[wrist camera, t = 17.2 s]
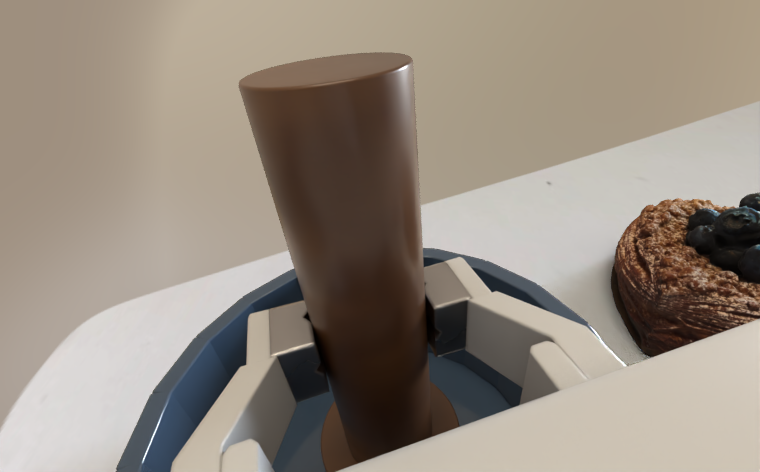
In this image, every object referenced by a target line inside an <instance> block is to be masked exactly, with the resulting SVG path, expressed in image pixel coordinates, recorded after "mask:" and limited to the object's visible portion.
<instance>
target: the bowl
mask: <svg viewBox="0 0 760 472" xmlns="http://www.w3.org/2000/svg"><path fill="white" fill-rule="evenodd" d="M457 257H461V258H463V259H464V260H465V261H466V262H467V263H468V265H469V266H470V267H471V268H472V269H473V271H474V272H475V273H476V274H477V275H478V277H479V278H480V279H481V280H482V281H483V283H484V284H485V285H486V286H487V287H488V288H489V290H490V291H491V292H495V291H498V292H500V293H503V294H505V295H508V296H510V297H513V298H516V299H518V300H521V301H523V302H526V303H528V304H531V305H533V306H536V307H538V308H541V309H543V310H546V311H549V312H551V313H554V314H556V315H559V316H561V317H564V318H566V319H569V320H571V321H574V322H576V323H579V324H581V325H584V326H587V327H588V328H589V329H590V330H591V331H592V332H593V333H594V334H595V335H596V336H597V337H598V338H599V339H600V340H601V341H602V339H601V338H600V337H599V336H598V334H597V333H596V332H595V330H594V329H593V328H592V327H591V326H590V325H588V322H586V321H585V320H584V319H582V318H581V317H580V316H579V315H577V314H576V313H575V312H573V311H572V310H571V309H569V308H568V307H567V306H566V305H564V304H563V303H562V302H560V301H559V300H558V299H556V298H555V297H554V296H553V295H551V294H550V293H549V292H547V291H546V290H545V289H543V288H542V287H541V286H540V285H537V284H536V283H534V282H532V281H530V280H528V279H526V278H524V277H522V276H519V275H517V274H515V273H513V272H511V271H509V270H506V269H504V268H502V267H500V266H498V265H496V264H493V263H491V262H489V261H485V260H483V259H479V258H474V257H470V256H466V255H461V254H457V253H453V252H448V251H444V250H440V249H434V248H423V263H424V267H427V266H431V265H434V264H438V263H441V262H444V261H447V260H451V259H454V258H457ZM302 300H304V298H303V295H302V291H301V288H300V285H299V282H298V278H297V275H296V272H295V269H292V270H290V271H288V272H286V273H284V274H282V275H280V276H279V277H277V278H275V279H273V280H272V281H270V282H268V283H266V284H264V285H263V286H261V287H259V288H257V289H255V290H254V291H252V292H250V293H248V294H247V295H245V296H243V298H241V299H240V300H238V301H237V302H236V303H235V304H234V305H232V306H231V307H230V308H229V309H228V310H227V311H225V312H224V313H223V314H222V315H221V316H219V317H218V318H217V319H216V320H215V321H214V322H212V323H211V324H210V325H209V326H208V327H206V328H205V329H204V330H203V331H202V332H201V333H199V334H198V335H197V336H196V338H194V339H193V341H192V342H191V343H190V344H189V346H188V347H187V348H186V349H185V351H184V352H183V353H182V355H181V356H180V357H179V358H178V360H177V361H176V362H175V364H174V365H173V366H172V367H171V369H170V370H169V371H168V372H167V374H166V375H165V376H164V378H163V379H162V380H161V381H160V383H159V384H158V385H157V386H156V388H155V389H154V390H153V393H152V394H151V395H150V397H149V399H148V401H147V403H146V405H145V408H144V410H143V412H142V414H141V416H140V418H139V420H138V423H137V425H136V427H135V429H134V431H133V433H132V435H131V438H130V440H129V442H128V444H127V446H126V448H125V450H124V453H123V455H122V457H121V459H120V461H119V463H118V465H117V468H116V470H117V471H116V472H171V467H172V462H173V461H174V459H175V458H176V457H177V455H178V454H179V452H180V451H181V449H182V448H183V447H184V445H185V444H186V442H187V441H188V440H189V438H190V437H191V435H192V434H193V433H194V431H195V430H196V428H197V427H198V426H199V424H200V423H201V421H202V420H203V419H204V417H205V416H206V414H207V413H208V411H209V410H210V409H211V407H212V406H213V404H214V403H215V402H216V400H217V399H218V397H219V396H220V395H221V393H222V392H223V390H224V389H225V388H226V386H227V385H228V383H229V382H230V380H231V379H232V378H233V376H234V375H235V373H236V372H237V371H238V369H239V368H240V367H242V366H245V365H246V359H247V331H248V317H249V315H250V314H252V313H256V312H260V311H264V310H268V309H270V308H274V307H278V306H282V305H286V304H290V303H294V302H298V301H302ZM602 342H603V341H602ZM603 343H604V342H603ZM604 344H605V343H604ZM605 345H606V344H605ZM428 358H429V377H430V382H432V383H433V384H435V385H436V386H437V387H438V388H439V389H440V390H441V391H442V392H443V393H444V394H445V395H446V397H447V398H448V400H449V401H450V402H451V404H452V406H453V408H454V410H455V412H456V415H457V418H458V421H459V426H460V427H461V426H463V425H466V424H469V423H472V422H474V421H477V420H480V419H483V418H486V417H488V416H491V415H494V414H497V413H499V412H502V411H505V410H508V409H510V408H513V407H516V406H519V405H520V400H521V395H522V390H523V388H522V387H520V386H519V385H517V384H516V383H514V382H513V381H511V380H510V379H508V378H507V377H505V376H504V375H502V374H501V373H499V372H498V371H496V370H494V369H493V368H491V367H490V366H488V365H487V364H485V363H484V362H482V361H481V360H479V359H478V358H476V357H475V356H473V355H472V354H470V353H469V352H467V351H466V349H463V350H460V351H456V352H453V353H450V354H446V355H443V356H439V357H435V355H434V353H433V351H432V349H431V347H430V345H429V343H428ZM326 374H327V373H326ZM327 380H328V376H327ZM328 385H329V391H330V392H327V393H324V394H321V395H318V396H315V397H312V398H310V399H307V400H304V401H301V402H298V403H296V404H297V407H296V409H295V411H294V414H293V416H292V419H291V421H290V423H289V426H288V428H287V431H286V433H285V435H284V438H283V440H282V443H281V445H280V448H279V450H278V452H277V455H276V457H275V460H274V462H273V464H272V468H273V470H274V471H275V472H326V470H325V467H324V464H323V461H322V455H321V433H322V428H323V424H324V421H325V418H326V415H327V413H328V411H329V409H330V407H331V405H332V404H333V402H334V401H335V399H334V396H333V393H332V390H331V386H330V383H329V380H328Z"/></svg>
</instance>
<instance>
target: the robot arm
mask: <svg viewBox="0 0 760 472" xmlns="http://www.w3.org/2000/svg"><path fill="white" fill-rule="evenodd" d="M424 282H425V301H426V320H427V339H428V343H429V345H430V347H431V349H432V351H433V353H434V355H435V357H439V356H443V355H446V354H450V353H453V352H456V351H460V350H463V349H466V351H467V352H469V353H470V354H472V355H473V356H475V357H476V358H478V359H479V360H481V361H482V362H484V363H485V364H487V365H488V366H490V367H491V368H493V369H494V370H496V371H498V372H499V373H501V374H502V375H504V376H505V377H507V378H508V379H510V380H511V381H513V382H514V383H516V384H517V385H519V386H520V387H522V388H523V390H522V395H521V400H520V405H519V406H516V407H513V408H510V409H508V410H505V411H502V412H499V413H497V414H494V415H491V416H488V417H486V418H483V419H480V420H477V421H474V422H472V423H469V424H466V425H463V426H461V427H458V428H455V429H452V430H449V431H447V432H444V433H441V434H438V435H436V436H433V437H430V438H427V439H425V440H422V441H419V442H416V443H414V444H411V445H408V446H405V447H402V448H400V449H397V450H394V451H391V452H389V453H386V454H383V455H380V456H378V457H375V458H372V459H369V460H366V461H364V462H361V463H358V464H355V465H353V466H350V467H347V468H344V469H342V470H339V471H336V472H760V319H757V320H755V321H752V322H749V323H746V324H743V325H741V326H738V327H735V328H732V329H730V330H727V331H724V332H721V333H718V334H716V335H713V336H710V337H707V338H705V339H702V340H699V341H696V342H694V343H691V344H688V345H685V346H682V347H680V348H677V349H674V350H671V351H669V352H666V353H663V354H660V355H657V356H655V357H652V358H649V359H646V360H644V361H641V362H638V363H635V364H632V365H630V366H627V365H626V364H625V363H624V362H623V361H622V360H621V359H620V358H619V357H618V356H616V355H615V354H614V353H613V352H612V351H611V350H610V349H609V348H608V347H607V346H606V345H605V344H604V343H603V342H602V341H601V340H600V339H599V338H598V337H597V336H596V335H595V334H594V333H593V332H592V331H591V330H590V329H589V328H588V327H587V326H584V325H581V324H579V323H576V322H574V321H571V320H569V319H566V318H564V317H561V316H559V315H556V314H554V313H551V312H549V311H546V310H543V309H541V308H538V307H536V306H533V305H531V304H528V303H526V302H523V301H521V300H518V299H516V298H513V297H510V296H508V295H505V294H503V293H500V292H498V291H495V292H491V291H490V290H489V288H488V287H487V286H486V285H485V284H484V283H483V281H482V280H481V279H480V278H479V277H478V275H477V274H476V273H475V272H474V271H473V269H472V268H471V267H470V266H469V265H468V263H467V262H466V261H465V260H464V259H463V258H461V257H457V258H454V259H451V260H447V261H444V262H441V263H438V264H434V265H431V266H427V267H424ZM327 392H330V391H329V385H328V380H327V374H326V369H325V366H324V362H323V359H322V356H321V353H320V350H319V347H318V343H317V340H316V336H315V333H314V330H313V327H312V323H311V321H310V318H309V314H308V311H307V308H306V305H305V301H304V300H302V301H298V302H294V303H290V304H286V305H282V306H278V307H274V308H270V309H268V310H264V311H260V312H256V313H252V314H250V315H249V317H248V331H247V359H246V365H245V366H242V367H240V368H239V369H238V371H237V372H236V373H235V375H234V376H233V378H232V379H231V380H230V382H229V383H228V385H227V386H226V388H225V389H224V390H223V392H222V393H221V395H220V396H219V397H218V399H217V400H216V402H215V403H214V404H213V406H212V407H211V409H210V410H209V411H208V413H207V414H206V416H205V417H204V419H203V420H202V421H201V423H200V424H199V426H198V427H197V428H196V430H195V431H194V433H193V434H192V435H191V437H190V438H189V440H188V441H187V442H186V444H185V445H184V447H183V448H182V449H181V451H180V452H179V454H178V455H177V457H176V458H175V459H174V461H173V462H172V467H171V472H275V471H274V470H273V468H272V464H273V462H274V460H275V457H276V455H277V452H278V450H279V448H280V445H281V443H282V440H283V438H284V435H285V433H286V431H287V428H288V426H289V423H290V421H291V419H292V416H293V414H294V411H295V409H296V407H297V404H296V403H298V402H301V401H304V400H307V399H310V398H312V397H315V396H318V395H321V394H324V393H327Z"/></svg>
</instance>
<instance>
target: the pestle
mask: <svg viewBox="0 0 760 472" xmlns="http://www.w3.org/2000/svg"><path fill="white" fill-rule="evenodd" d="M239 89H240V92H241V95H242V98H243V102H244V105H245V109H246V112H247V115H248V118H249V122H250V125H251V128H252V131H253V135H254V138H255V141H256V144H257V148H258V151H259V154H260V157H261V161H262V164H263V167H264V171H265V174H266V177H267V180H268V184H269V186H270V190H271V193H272V197H273V200H274V203H275V206H276V210H277V213H278V216H279V220H280V223H281V226H282V229H283V233H284V236H285V239H286V242H287V246H288V249H289V252H290V256H291V259H292V262H293V265H294V269H295V272H296V275H297V278H298V282H299V285H300V288H301V291H302V295H303V298H304V301H305V305H306V308H307V311H308V314H309V318H310V321H311V323H312V327H313V330H314V333H315V336H316V340H317V343H318V347H319V350H320V353H321V356H322V359H323V362H324V366H325V369H326V373H327V376H328V380H329V383H330V386H331V390H332V393H333V396H334V399H335V401H334V402H333V404H332V405H331V407H330V409H329V411H328V413H327V415H326V418H325V421H324V424H323V428H322V433H321V455H322V461H323V464H324V467H325V470H326V472H336V471H339V470H342V469H344V468H347V467H350V466H353V465H355V464H358V463H361V462H364V461H366V460H369V459H372V458H375V457H378V456H380V455H383V454H386V453H389V452H391V451H394V450H397V449H400V448H402V447H405V446H408V445H411V444H414V443H416V442H419V441H422V440H425V439H427V438H430V437H433V436H436V435H438V434H441V433H444V432H447V431H449V430H452V429H455V428H458V427H460V426H459V421H458V418H457V415H456V412H455V410H454V408H453V406H452V404H451V402H450V401H449V400H448V398H447V397H446V395H445V394H444V393H443V392H442V391H441V390H440V389H439V388H438V387H437V386H436V385H435V384H433V383H432V382H430V377H429V358H428V339H427V320H426V301H425V282H424V263H423V244H422V225H421V206H420V188H419V168H418V149H417V130H416V113H415V93H414V74H413V60H412V58H411V57H410V56H407V55H404V54H399V53H358V54H347V55H338V56H330V57H322V58H315V59H309V60H304V61H298V62H293V63H289V64H284V65H279V66H275V67H271V68H268V69H264V70H261V71H258V72H255V73H252V74H250V75H248V76H246V77H245V78H243V79H241V80H240V82H239Z"/></svg>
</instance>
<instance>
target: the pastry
mask: <svg viewBox="0 0 760 472" xmlns="http://www.w3.org/2000/svg"><path fill="white" fill-rule="evenodd" d="M615 255H616V256H615V264H614V266H613V269H612V276H611V288H612V292H613V297H614V300H615V304H616V307H617V309H618V311H619V313H620V314H621V316H622V318H623V320H624V322H625V324H626V326H627V328H628V330H629V332H630V333H631V335H632V337H633V338H634V340H635V341H636V343H637V344H638V346H639V347H640V348H641V349H642V350H643V352H645V353H646V354H648V355H649V356H651V357H655V356H657V355H660V354H663V353H666V352H669V351H671V350H674V349H677V348H680V347H682V346H685V345H688V344H691V343H694V342H696V341H699V340H702V339H705V338H707V337H710V336H713V335H716V334H718V333H721V332H724V331H727V330H730V329H732V328H735V327H738V326H741V325H743V324H746V323H749V322H752V321H755V320H757V319H760V193H755V194H749V195H746V196H745V197H744V198H742V200H741V201H740V205H739V208H735V207H734V206H733V207H726V206H724V207H722V208H721V207H719V206H718V205H713V204H712V203H711V201H710V200H706V201H704V200H699V199H693V200H691V201H690V200H685V201H683V200H682V199H680V198H678V199H675V200H673V201H672V200H664V201H661V202H660V203H659V204H658V205H657V206H653V205H648V206H646V207H645V208H644V209H643V210H642V212H641V215H640V216H639V217H638V218H636V219H635V220H634V221H633V222H632V223H631V224H630V225H629V226H628V227H627V228H626V230H625V232H624V233H623V235H622V237H621V239H620V241H619V242H618V246H617V249H616V254H615Z"/></svg>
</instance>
